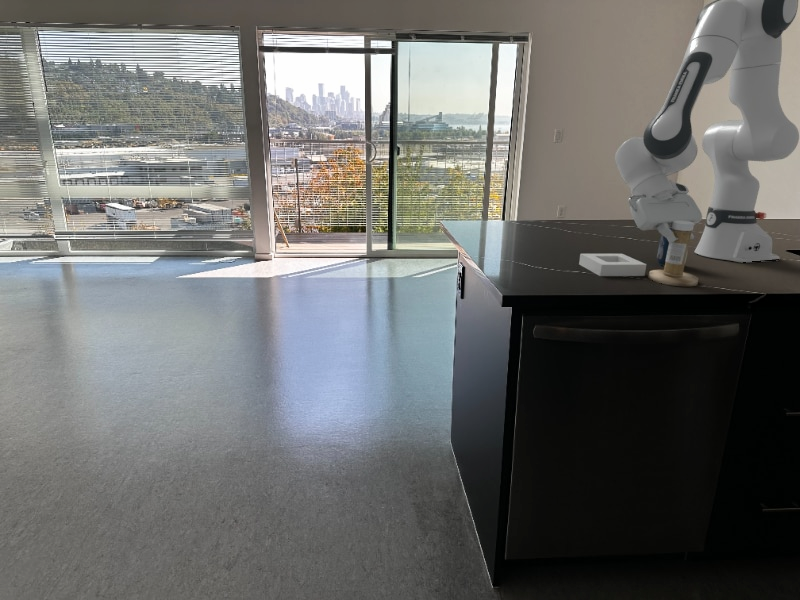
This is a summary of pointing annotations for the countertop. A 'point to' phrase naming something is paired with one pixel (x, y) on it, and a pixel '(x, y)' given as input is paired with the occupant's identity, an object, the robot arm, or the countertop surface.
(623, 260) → the collar
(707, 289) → the countertop surface
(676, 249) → the sprinkles bottle
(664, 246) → the soda can
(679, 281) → the disc
